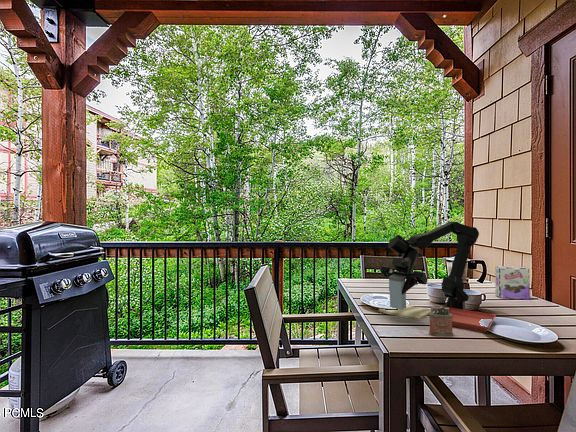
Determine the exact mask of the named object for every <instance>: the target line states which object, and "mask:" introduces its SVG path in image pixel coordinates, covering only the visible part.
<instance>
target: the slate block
mask: <svg viewBox="0 0 576 432" xmlns="http://www.w3.org/2000/svg"><path fill="white" fill-rule="evenodd" d="M405 282H406V277H405V276H401V275H395V274H393V275H391V276H389V278H388V285H389V286H388V289H389V288H390V291H389V305H390V307H392V308H396V309H400V310H402V309H404V308H405V307H406V305H407V292H405V293H404V294H402V289H403V287H404V284H405Z"/></svg>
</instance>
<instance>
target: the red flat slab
mask: <svg viewBox="0 0 576 432" xmlns="http://www.w3.org/2000/svg"><path fill="white" fill-rule="evenodd" d="M446 308H449V313H450V314H453V317H452V327H455V328H458V329H459V328H460V329H465V330H469V331H475V332H481V333H486V332H487V331H488V330H489V329H490V328H491V325H492V323H493V322H494V320H495V318H496V317H497V316H496V314H492V313H491V314H490V313H485V312H480V311H473V310H468V309H465V310H462V309H456V308H450V307H447V306H446ZM445 313H446V311H445ZM481 319H492V321H491V322H490V323H489V325H488V327H485V326H481V325H480V323H479V321H480V320H481Z"/></svg>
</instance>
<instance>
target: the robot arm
mask: <svg viewBox="0 0 576 432" xmlns="http://www.w3.org/2000/svg"><path fill="white" fill-rule="evenodd" d="M451 233H453V234H454V235H456V241H457V248H456V252H455V256H454V257H453V258H454V259H453V262H452V266H451V268H450V272H449V275H447V276H444V277H443V278H442V281H441V284H440V286H441V291H442V293H443V294H444V295H443V296H444V297H445V298H447V301H446V308H447V307H450V308H456V309H462V310H466V302H468V301H469V298H470V296H469V295H468V293H466V292H465V290H464V289H465V285H464V281H463V276H464V273H465V269H466V267H467V261H468V258H469V255H470V250H471V247H472V246H474V245H475V244H476V243H477V240H478V238H479V235H480V232H479V229H477V227H475V226H469V225H467V224H462V223H460V222H459V221H447V222H446V223H444V224H441V225H440V226H438V227H436V228H433V229H432V230H429V231H426V232H424V233H417V234H414V235H411V236H410V237H409V238H408V239H405V238H403V237H402V235H400V234H396V235H395V236H394V237H392V238H391V239H390V240H389V241H388V243H387V247H388V248H389V249H390V250H392V251H393V252H395V253H396V254H397V255H400V256H401V255H402V256H401V258H400V257H392V259H391V266H394V269H395V270H394V269H393V268H392V267H391V266H389V265H387V266H385V265H382V266H381V267H380V268H379V272H380V273H381V274H382V276H383V277H385V278H388V279H389V276H391V275H393V274H395V275H401V276H405V284H404V287H403V289H402V294H404V293H405V292H406V293H407V292H408V291H409V290H410V289H411V288H413V287H415V286H417V285H424V286H425V285H427V283H428V278H427V276H426V274H425V273H424V272H423V271H420V270H419V271H417V270H415V269H416V266H415V264H416V261H417V259H419V258H423V254H422V252H421V251H420V250H424V249H426V248H428V247H429V246H431V245H432V243H433V242H434V241H436V240H438V239H440V238H442V237H444V236H447V235H449V234H451ZM417 249H419V250H417ZM388 291H389V292H390V288H389V287H388Z"/></svg>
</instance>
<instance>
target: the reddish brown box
mask: <svg viewBox="0 0 576 432" xmlns="http://www.w3.org/2000/svg"><path fill="white" fill-rule="evenodd" d="M430 310H431V311H433V312H432V313H429V315H428V317H429V330H428V332H429V333H428V334H429V335H430V336H433V337H453V336H454V332H453V326H452V317H453V314H450V313H449V308H447V307H443V306H441V305H440V306H439V307H438V306H431V307H430ZM445 311H446V313H445Z"/></svg>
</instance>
